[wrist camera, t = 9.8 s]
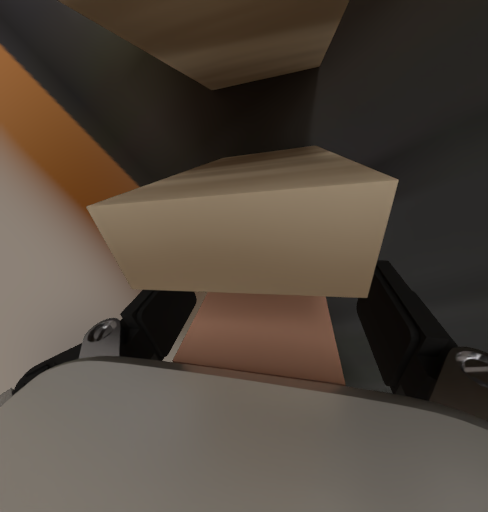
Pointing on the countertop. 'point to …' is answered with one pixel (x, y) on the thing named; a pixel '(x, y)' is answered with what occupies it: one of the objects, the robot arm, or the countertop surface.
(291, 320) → the domino
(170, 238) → the domino
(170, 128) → the countertop surface
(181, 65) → the domino
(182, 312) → the robot arm
